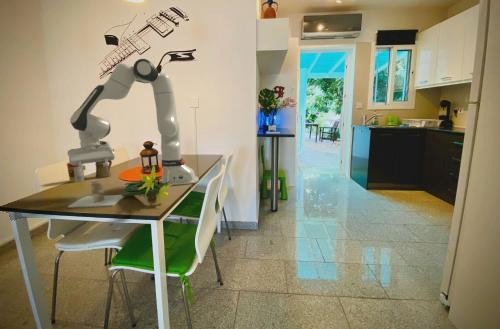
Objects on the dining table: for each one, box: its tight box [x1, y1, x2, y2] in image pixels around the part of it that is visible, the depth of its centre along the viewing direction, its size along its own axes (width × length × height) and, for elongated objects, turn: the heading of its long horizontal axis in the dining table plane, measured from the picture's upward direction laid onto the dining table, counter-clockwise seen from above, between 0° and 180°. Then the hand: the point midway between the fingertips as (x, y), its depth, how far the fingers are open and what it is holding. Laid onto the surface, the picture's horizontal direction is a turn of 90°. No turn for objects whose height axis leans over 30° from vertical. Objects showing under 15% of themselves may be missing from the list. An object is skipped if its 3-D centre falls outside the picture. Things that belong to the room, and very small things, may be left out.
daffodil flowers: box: [121, 164, 173, 204], centre depth 116 cm, size 17×15×35 cm
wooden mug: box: [95, 148, 115, 179], centre depth 168 cm, size 9×14×18 cm, turn 143°
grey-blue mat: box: [67, 194, 126, 208], centre depth 119 cm, size 20×14×1 cm
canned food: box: [66, 161, 85, 183], centre depth 157 cm, size 8×8×12 cm
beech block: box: [90, 180, 105, 202], centre depth 118 cm, size 4×4×9 cm
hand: (94, 167), depth 126 cm, fingers open, 8 cm apart
